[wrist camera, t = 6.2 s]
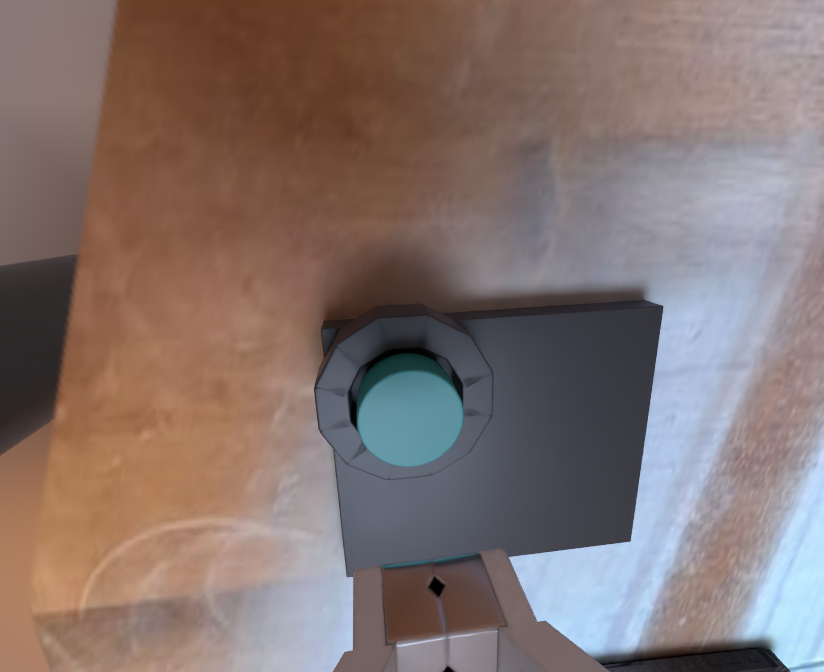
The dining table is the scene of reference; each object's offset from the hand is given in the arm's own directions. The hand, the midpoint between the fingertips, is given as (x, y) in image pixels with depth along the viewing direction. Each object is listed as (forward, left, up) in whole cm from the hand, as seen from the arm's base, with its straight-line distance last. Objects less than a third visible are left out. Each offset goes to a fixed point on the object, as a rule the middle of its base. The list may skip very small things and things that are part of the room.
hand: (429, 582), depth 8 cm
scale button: (0, 0, -8) cm, 8 cm away
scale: (+4, -3, -10) cm, 12 cm away
